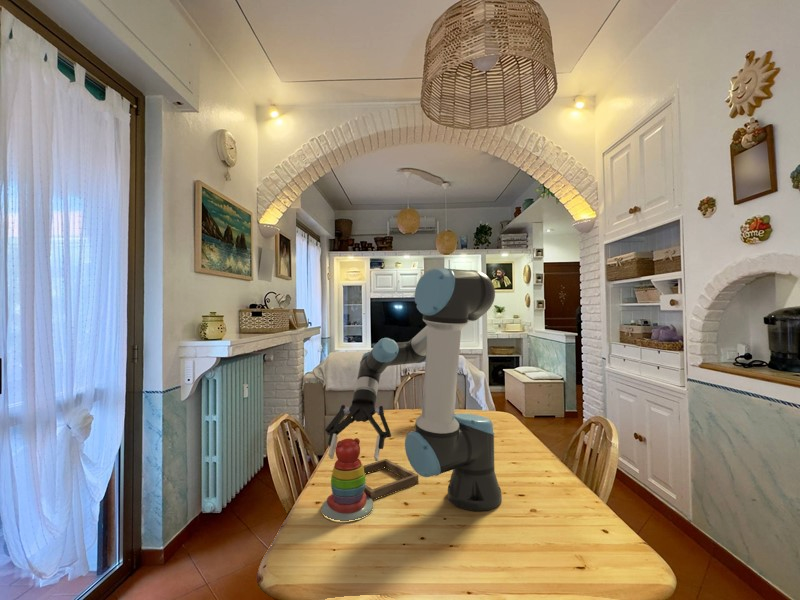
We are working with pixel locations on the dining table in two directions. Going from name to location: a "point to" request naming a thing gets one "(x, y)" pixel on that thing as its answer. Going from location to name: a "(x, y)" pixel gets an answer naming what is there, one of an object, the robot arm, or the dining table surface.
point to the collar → (407, 481)
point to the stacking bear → (347, 478)
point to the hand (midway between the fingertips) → (353, 458)
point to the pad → (348, 516)
